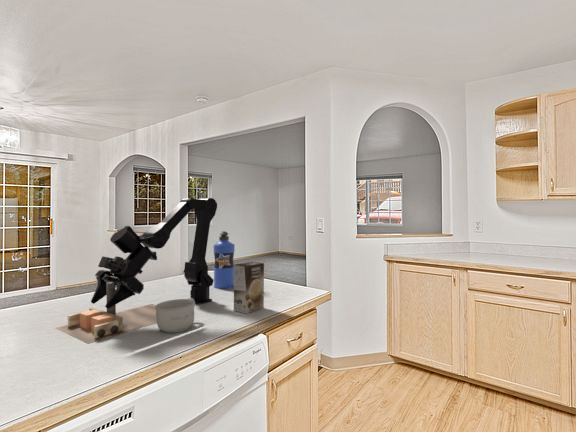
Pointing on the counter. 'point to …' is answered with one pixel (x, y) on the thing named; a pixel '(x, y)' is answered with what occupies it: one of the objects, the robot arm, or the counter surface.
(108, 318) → the block
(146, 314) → the board
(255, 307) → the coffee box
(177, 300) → the teacup
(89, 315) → the block
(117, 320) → the wooden pusher with handle
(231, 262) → the water bottle
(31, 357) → the counter surface
